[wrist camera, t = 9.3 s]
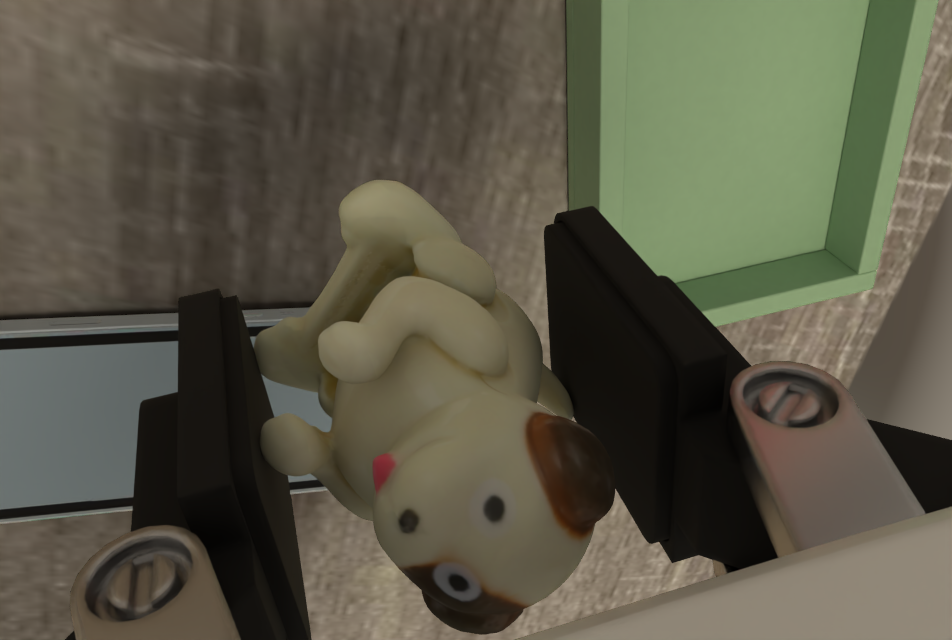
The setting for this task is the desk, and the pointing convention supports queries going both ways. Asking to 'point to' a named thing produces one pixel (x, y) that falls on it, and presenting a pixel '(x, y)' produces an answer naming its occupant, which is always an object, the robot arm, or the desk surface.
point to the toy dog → (437, 416)
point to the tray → (745, 139)
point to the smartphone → (99, 408)
